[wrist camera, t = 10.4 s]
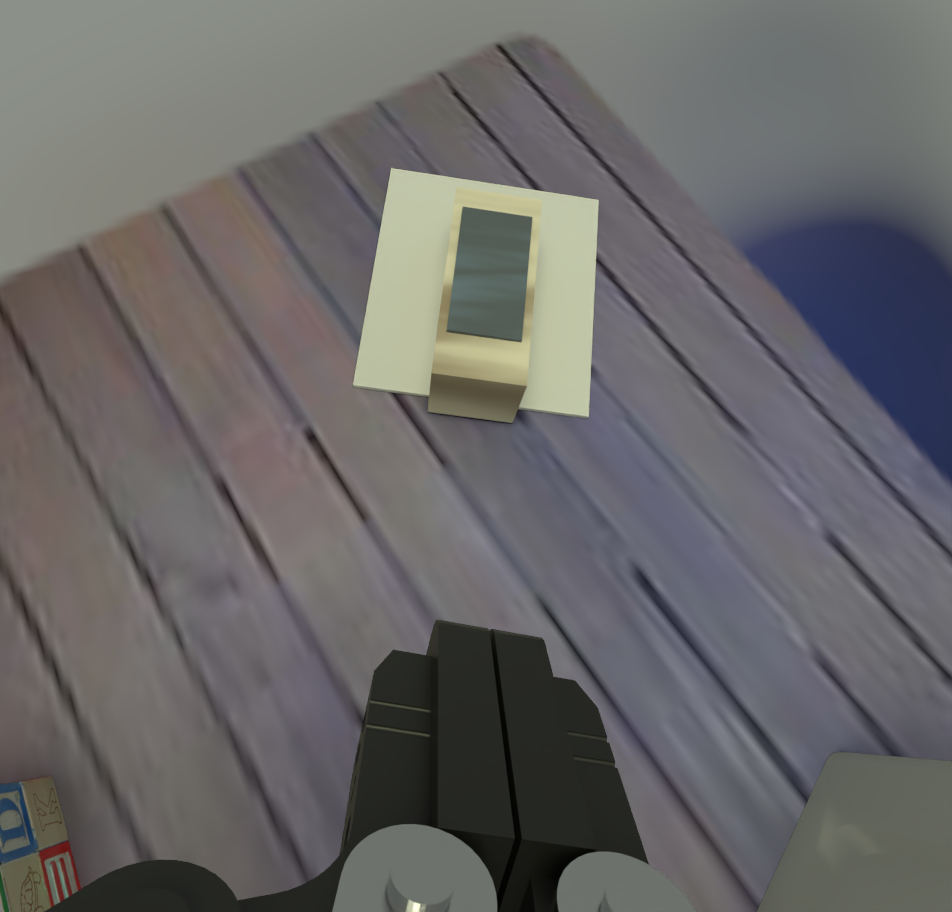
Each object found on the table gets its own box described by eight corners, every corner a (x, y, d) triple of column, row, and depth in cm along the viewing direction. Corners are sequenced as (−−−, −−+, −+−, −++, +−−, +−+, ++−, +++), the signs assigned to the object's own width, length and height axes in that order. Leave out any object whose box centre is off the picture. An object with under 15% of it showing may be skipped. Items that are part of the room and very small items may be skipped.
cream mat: (587, 418, 42) (588, 416, 42) (353, 387, 42) (352, 385, 41) (597, 202, 48) (598, 199, 48) (391, 171, 47) (391, 168, 47)
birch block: (527, 383, 37) (542, 197, 41) (431, 370, 36) (456, 183, 40) (512, 423, 41) (527, 252, 46) (427, 411, 41) (450, 241, 45)
